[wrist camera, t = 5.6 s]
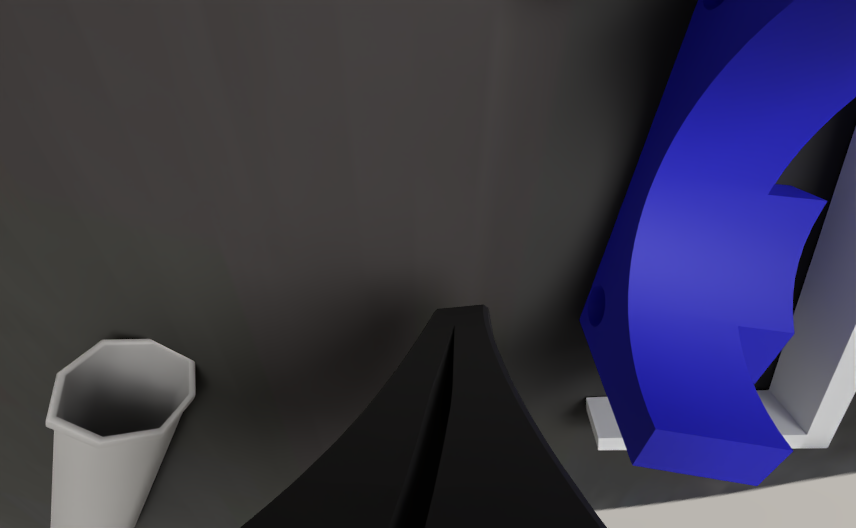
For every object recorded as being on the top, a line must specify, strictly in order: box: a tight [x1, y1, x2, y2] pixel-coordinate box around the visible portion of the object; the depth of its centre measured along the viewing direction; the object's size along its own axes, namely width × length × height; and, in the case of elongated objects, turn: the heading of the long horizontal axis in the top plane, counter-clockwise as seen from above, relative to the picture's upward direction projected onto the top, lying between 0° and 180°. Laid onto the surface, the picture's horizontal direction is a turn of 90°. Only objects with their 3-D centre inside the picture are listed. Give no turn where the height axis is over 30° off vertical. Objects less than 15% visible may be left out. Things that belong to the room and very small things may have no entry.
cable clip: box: [579, 0, 856, 486], centre depth 8 cm, size 12×4×6 cm, turn 176°
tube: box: [46, 339, 196, 528], centre depth 23 cm, size 5×5×25 cm
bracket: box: [586, 127, 856, 450], centre depth 11 cm, size 8×18×2 cm, turn 13°
